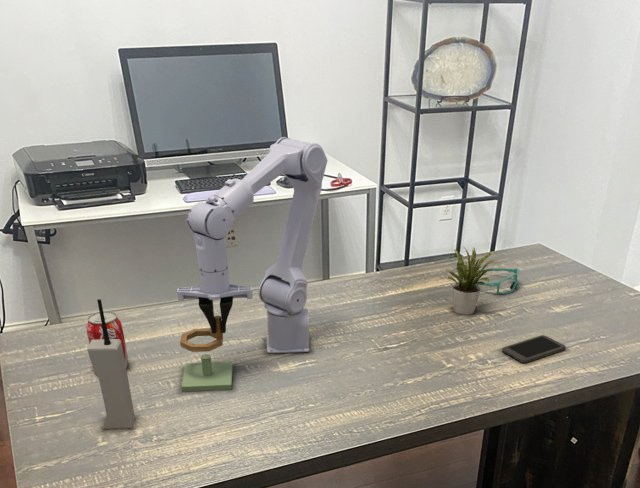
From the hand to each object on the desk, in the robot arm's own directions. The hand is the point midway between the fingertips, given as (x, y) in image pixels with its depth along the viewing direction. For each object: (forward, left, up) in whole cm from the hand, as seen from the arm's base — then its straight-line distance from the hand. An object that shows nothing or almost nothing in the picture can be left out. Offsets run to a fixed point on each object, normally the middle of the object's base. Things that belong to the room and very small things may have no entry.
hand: (218, 331), depth 139 cm
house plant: (-62, -28, -10) cm, 68 cm away
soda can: (+23, -4, -10) cm, 26 cm away
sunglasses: (-73, -45, -10) cm, 86 cm away
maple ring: (+4, 0, -2) cm, 4 cm away
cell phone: (-71, -5, -10) cm, 71 cm away
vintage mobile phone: (+18, +18, -10) cm, 28 cm away
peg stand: (+3, +2, -10) cm, 10 cm away
